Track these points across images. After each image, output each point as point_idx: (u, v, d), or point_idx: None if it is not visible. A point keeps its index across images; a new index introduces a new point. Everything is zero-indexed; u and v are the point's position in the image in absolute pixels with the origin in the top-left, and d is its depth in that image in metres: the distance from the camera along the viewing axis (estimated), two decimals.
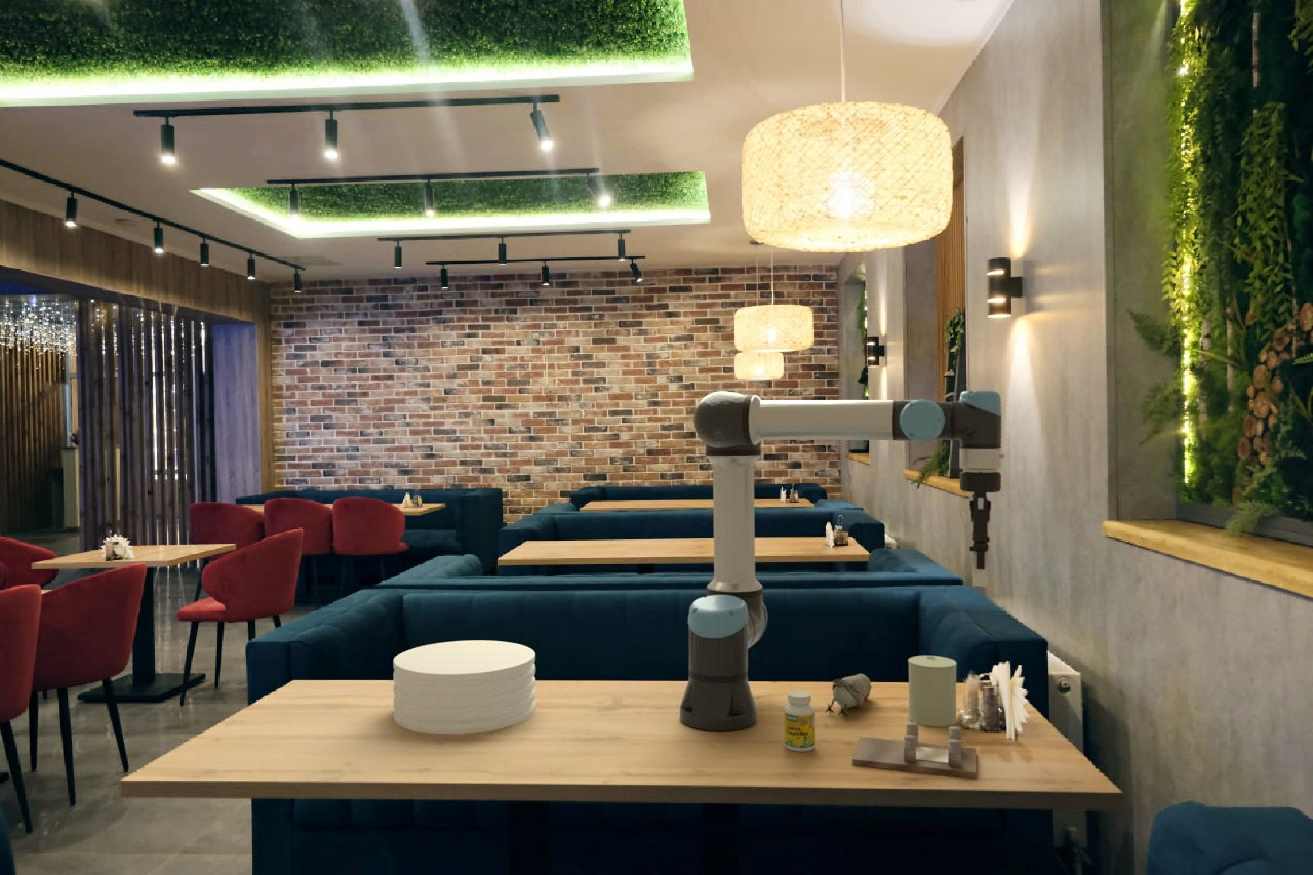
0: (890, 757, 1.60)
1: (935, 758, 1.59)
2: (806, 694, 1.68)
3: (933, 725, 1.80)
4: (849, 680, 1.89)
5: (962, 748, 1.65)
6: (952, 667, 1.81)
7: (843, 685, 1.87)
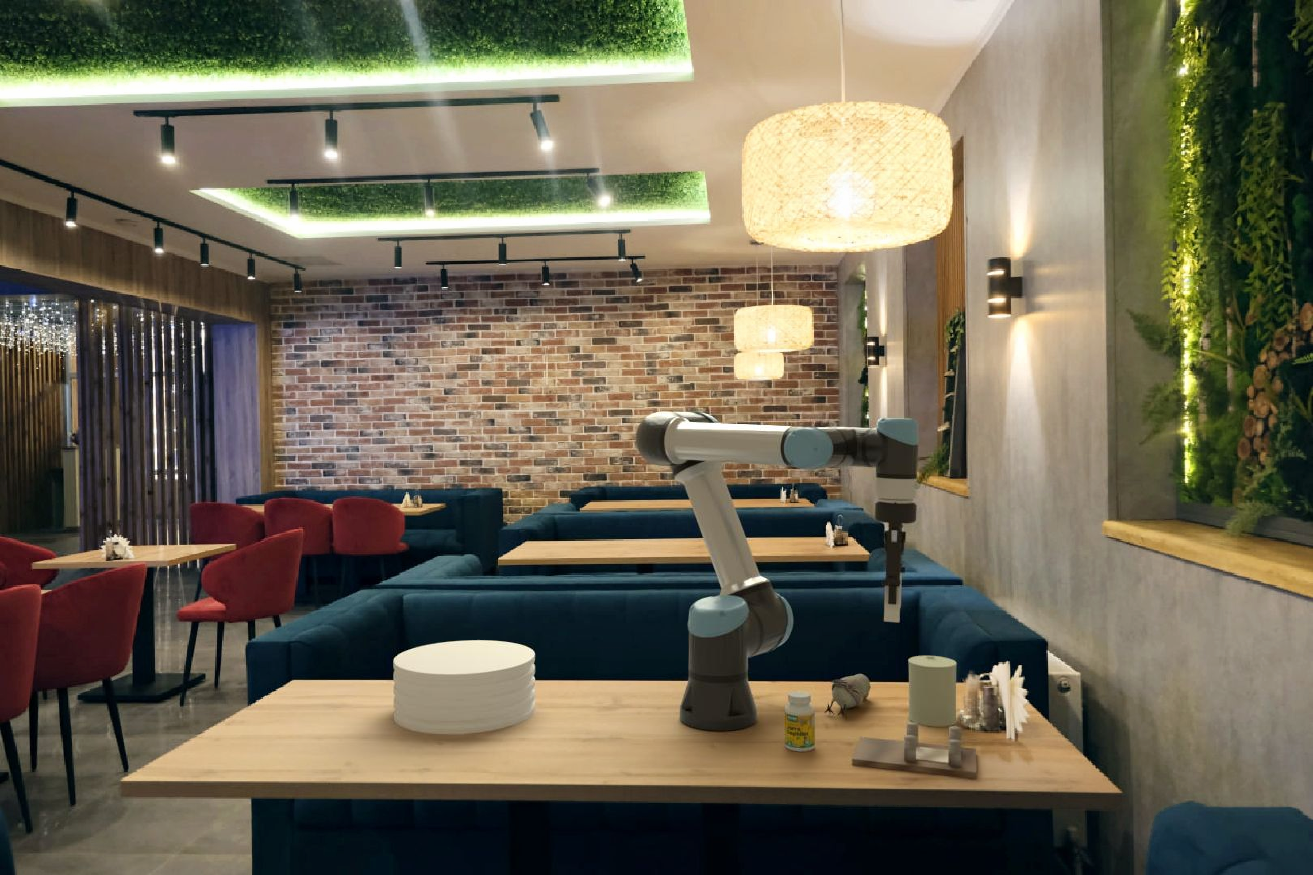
0: (890, 757, 1.60)
1: (935, 758, 1.59)
2: (806, 694, 1.68)
3: (933, 725, 1.80)
4: (848, 680, 1.89)
5: (962, 748, 1.65)
6: (952, 667, 1.81)
7: (842, 685, 1.87)
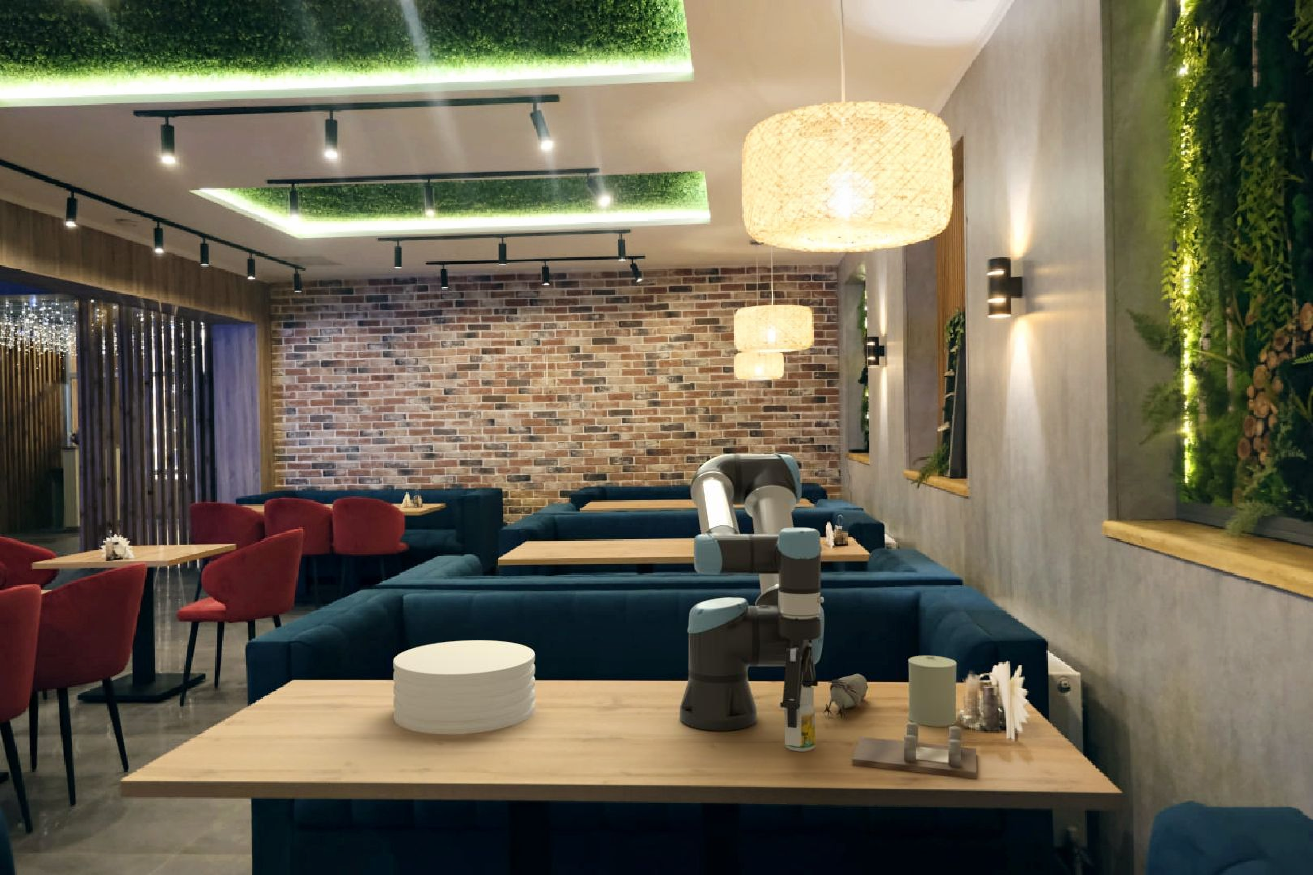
0: (890, 757, 1.60)
1: (935, 758, 1.59)
2: (806, 694, 1.68)
3: (933, 725, 1.80)
4: (846, 680, 1.89)
5: (962, 748, 1.65)
6: (952, 667, 1.81)
7: (841, 685, 1.86)
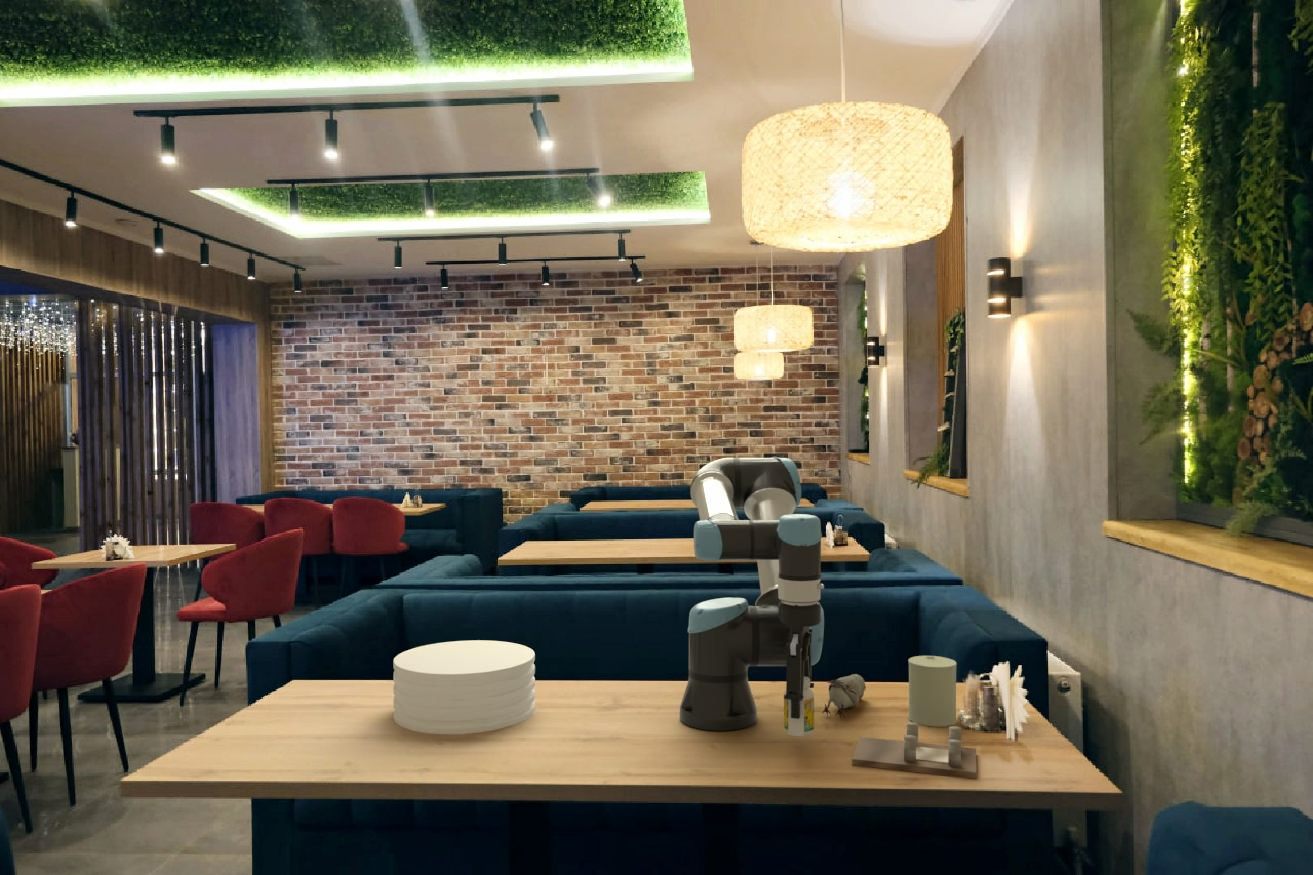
0: (890, 757, 1.60)
1: (935, 758, 1.59)
2: (805, 678, 1.68)
3: (933, 725, 1.80)
4: (845, 680, 1.89)
5: (962, 748, 1.65)
6: (952, 667, 1.81)
7: (840, 686, 1.86)
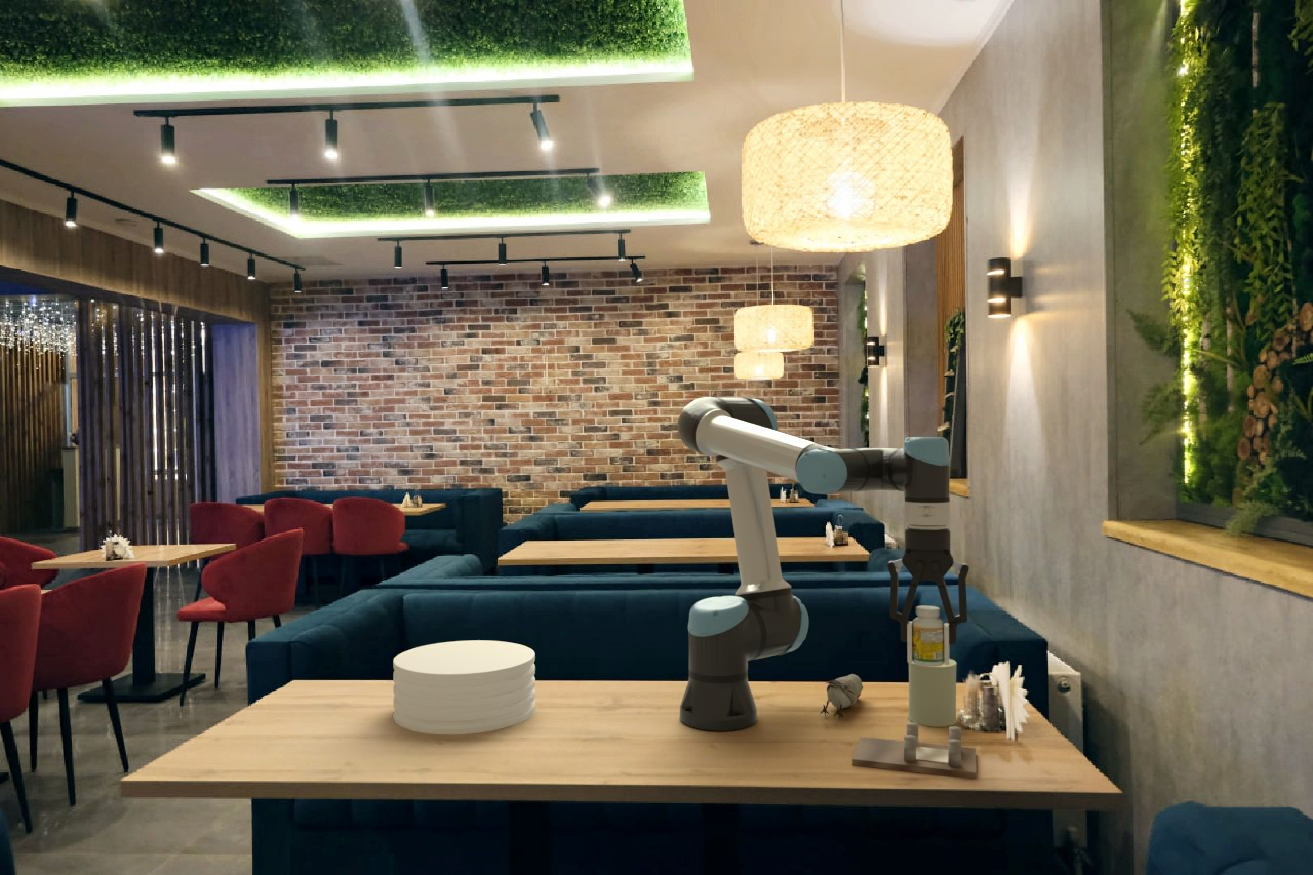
0: (890, 757, 1.60)
1: (935, 758, 1.59)
2: (928, 608, 1.60)
3: (933, 725, 1.80)
4: (843, 681, 1.89)
5: (962, 748, 1.65)
6: (952, 667, 1.81)
7: (838, 686, 1.86)
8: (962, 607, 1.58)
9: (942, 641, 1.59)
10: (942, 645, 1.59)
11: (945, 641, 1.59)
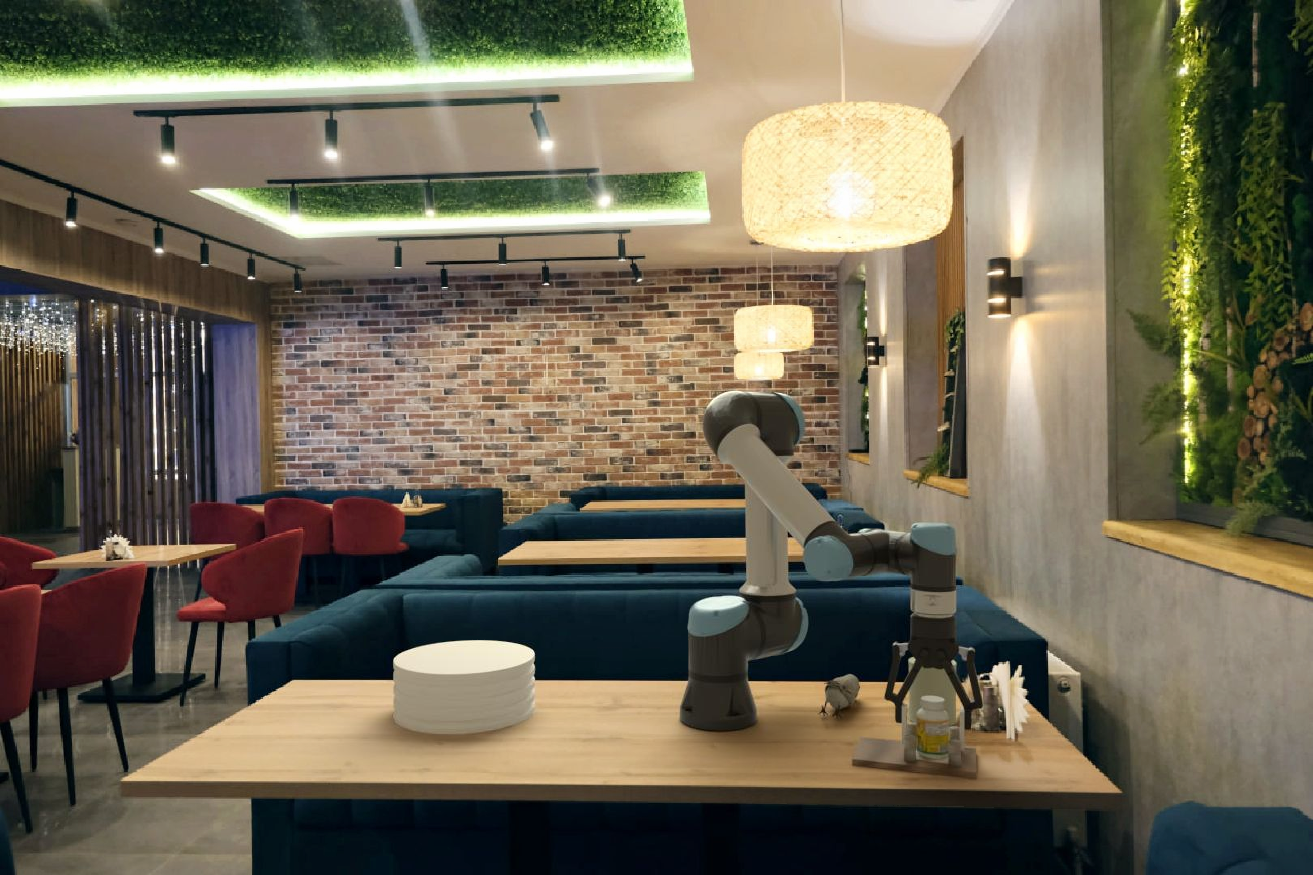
0: (890, 757, 1.60)
1: None
2: (933, 700, 1.60)
3: None
4: (841, 681, 1.89)
5: None
6: None
7: (836, 686, 1.86)
8: (976, 693, 1.58)
9: (947, 734, 1.59)
10: (946, 737, 1.59)
11: (960, 726, 1.58)
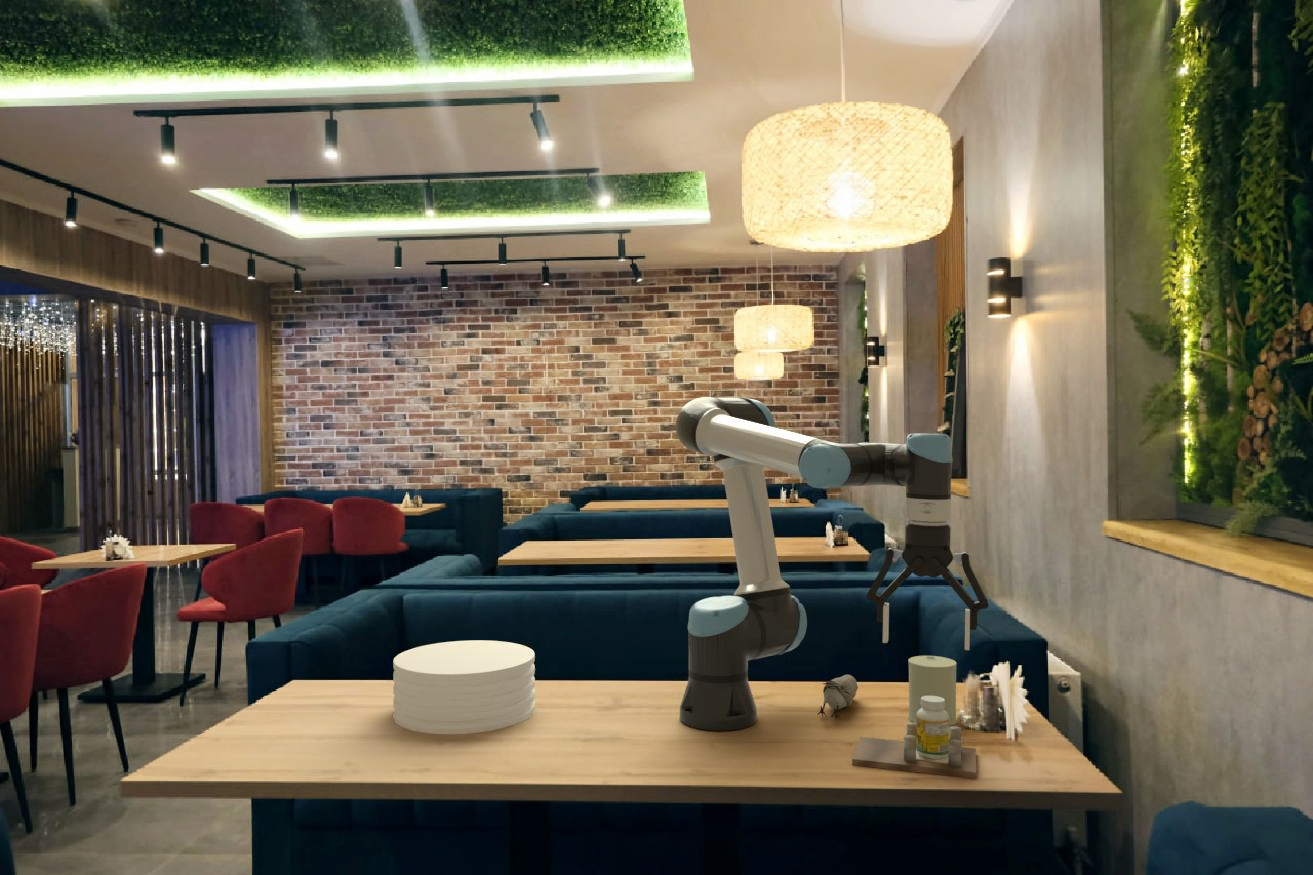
0: (890, 757, 1.60)
1: None
2: (933, 700, 1.60)
3: None
4: (839, 681, 1.89)
5: (962, 748, 1.65)
6: (952, 667, 1.81)
7: (835, 687, 1.86)
8: (979, 594, 1.58)
9: (947, 734, 1.59)
10: (947, 738, 1.59)
11: (966, 626, 1.59)
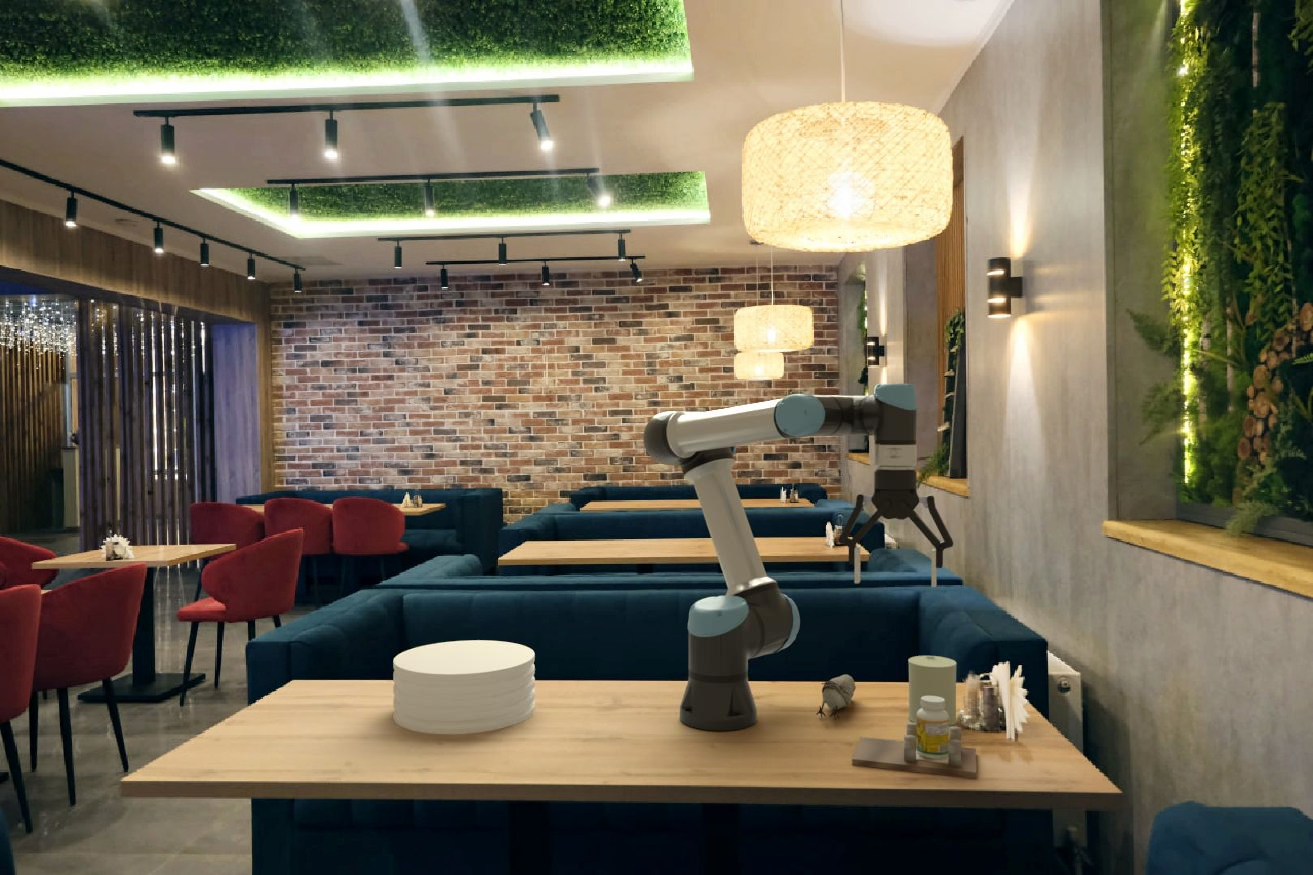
0: (890, 757, 1.60)
1: None
2: (933, 700, 1.60)
3: None
4: (838, 681, 1.88)
5: (962, 748, 1.65)
6: (952, 667, 1.81)
7: (834, 687, 1.85)
8: (944, 533, 1.68)
9: (947, 734, 1.59)
10: (947, 738, 1.59)
11: (932, 565, 1.68)
